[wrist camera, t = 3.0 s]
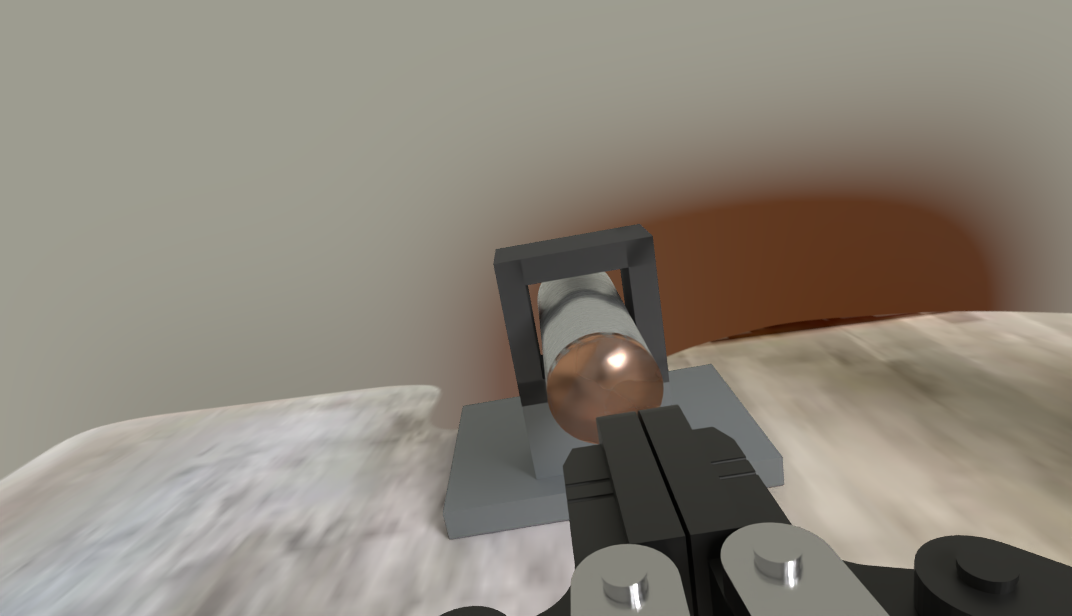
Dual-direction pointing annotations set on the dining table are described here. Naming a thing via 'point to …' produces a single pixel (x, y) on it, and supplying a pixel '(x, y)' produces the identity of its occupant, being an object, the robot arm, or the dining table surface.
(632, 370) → the steel peg
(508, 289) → the rubber collar
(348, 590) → the dining table surface
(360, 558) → the dining table surface
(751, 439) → the base plate
